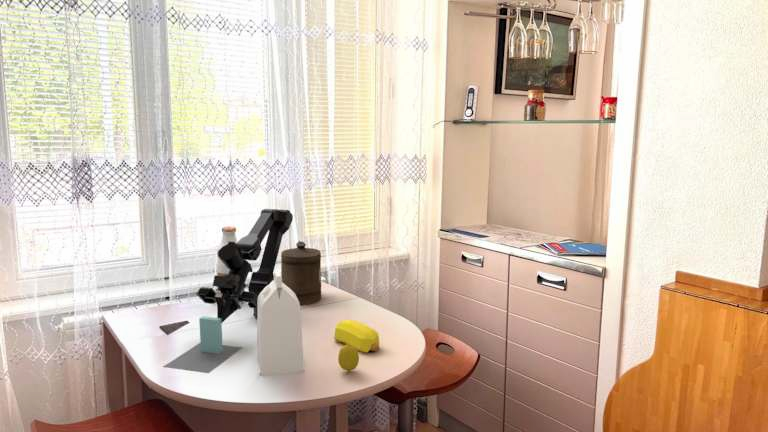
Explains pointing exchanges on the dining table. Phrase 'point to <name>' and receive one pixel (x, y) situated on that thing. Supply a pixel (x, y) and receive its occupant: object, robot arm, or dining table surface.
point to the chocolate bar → (173, 327)
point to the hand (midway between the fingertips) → (219, 323)
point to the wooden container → (302, 272)
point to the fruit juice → (227, 237)
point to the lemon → (348, 357)
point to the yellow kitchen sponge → (357, 335)
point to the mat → (202, 359)
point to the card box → (211, 334)
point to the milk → (279, 329)
